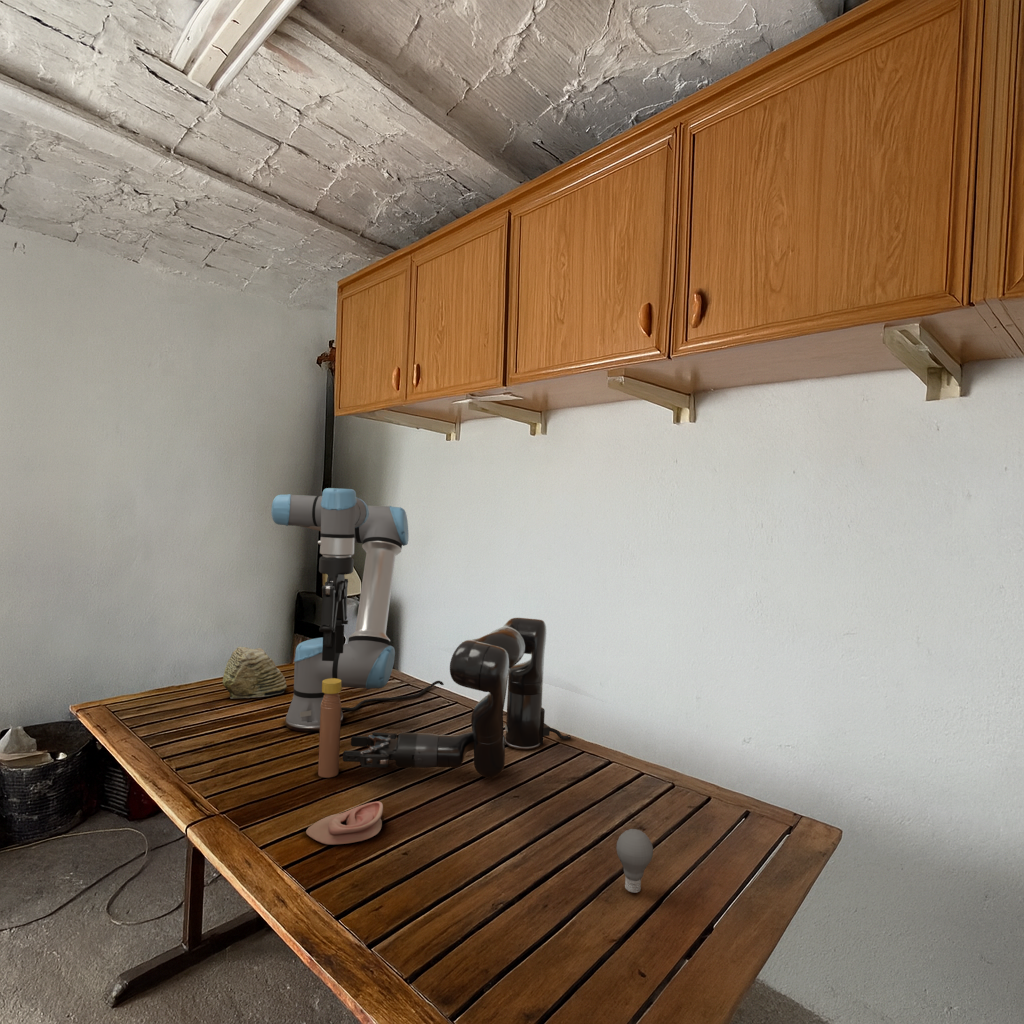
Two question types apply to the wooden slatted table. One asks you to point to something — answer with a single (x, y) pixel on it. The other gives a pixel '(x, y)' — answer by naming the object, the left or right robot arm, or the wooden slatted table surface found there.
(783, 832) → the wooden slatted table surface
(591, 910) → the wooden slatted table surface
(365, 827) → the anatomical model
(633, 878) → the light bulb
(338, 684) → the cap
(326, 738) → the bottle
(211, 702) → the wooden slatted table surface
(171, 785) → the wooden slatted table surface
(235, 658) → the fossil
